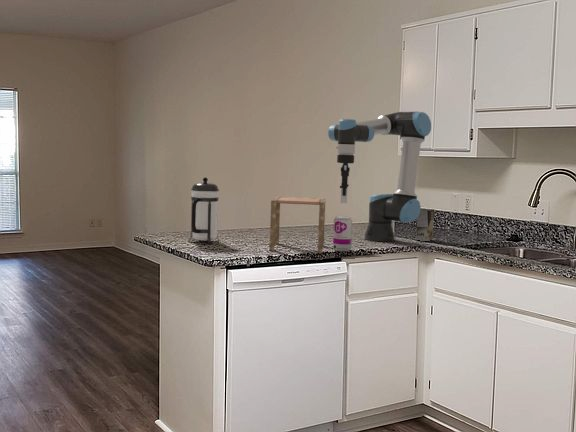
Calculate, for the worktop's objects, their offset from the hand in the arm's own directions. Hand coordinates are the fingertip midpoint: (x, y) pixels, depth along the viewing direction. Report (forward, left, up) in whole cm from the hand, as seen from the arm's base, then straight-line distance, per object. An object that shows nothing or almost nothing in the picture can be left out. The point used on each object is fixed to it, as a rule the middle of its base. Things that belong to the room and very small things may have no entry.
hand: (343, 202), depth 308 cm
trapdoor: (+20, 0, -2) cm, 20 cm away
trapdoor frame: (+20, 0, -22) cm, 29 cm away
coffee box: (-42, -45, -22) cm, 66 cm away
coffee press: (+64, -5, -22) cm, 68 cm away
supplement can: (0, 0, -22) cm, 22 cm away
